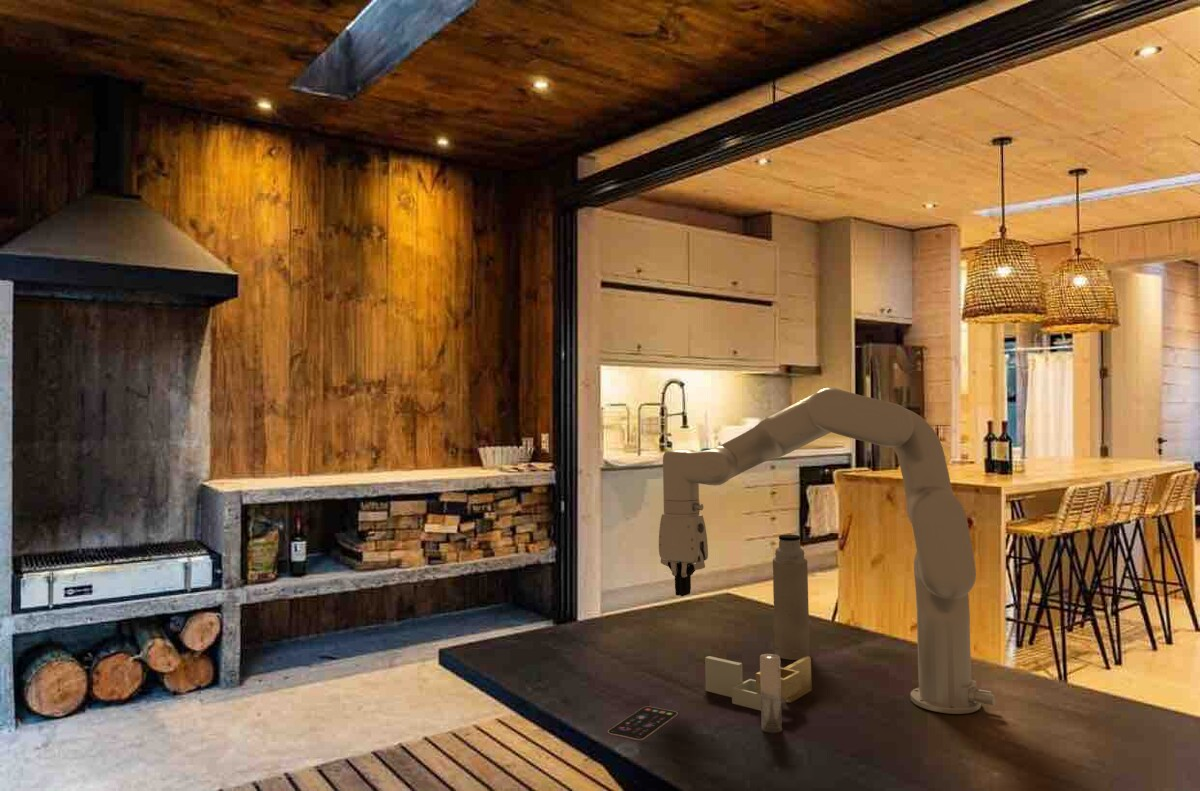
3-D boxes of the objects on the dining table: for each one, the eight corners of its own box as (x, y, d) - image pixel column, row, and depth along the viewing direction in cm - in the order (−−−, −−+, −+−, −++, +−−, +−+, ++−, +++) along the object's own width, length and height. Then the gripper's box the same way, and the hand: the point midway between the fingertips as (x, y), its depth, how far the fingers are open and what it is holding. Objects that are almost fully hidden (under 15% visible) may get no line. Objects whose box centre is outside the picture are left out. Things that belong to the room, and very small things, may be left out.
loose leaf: (780, 701, 160) (779, 666, 160) (762, 711, 155) (761, 675, 155) (716, 685, 169) (715, 652, 170) (698, 694, 164) (697, 660, 164)
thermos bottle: (772, 649, 194) (770, 532, 194) (806, 649, 193) (803, 532, 193) (776, 659, 186) (774, 537, 186) (812, 660, 185) (809, 537, 186)
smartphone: (679, 712, 154) (641, 740, 142) (679, 715, 154) (641, 743, 142) (645, 705, 158) (605, 732, 146) (645, 708, 158) (605, 735, 146)
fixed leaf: (823, 693, 164) (822, 659, 164) (785, 716, 152) (784, 680, 152) (795, 686, 168) (794, 653, 168) (756, 708, 156) (755, 673, 156)
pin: (785, 728, 146) (783, 656, 146) (775, 734, 143) (773, 661, 144) (767, 723, 148) (766, 652, 149) (757, 729, 146) (756, 657, 146)
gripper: (721, 508, 169) (722, 596, 169) (663, 503, 179) (665, 586, 179) (700, 512, 163) (702, 603, 163) (642, 507, 173) (644, 593, 173)
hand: (683, 594), depth 171 cm, fingers closed
